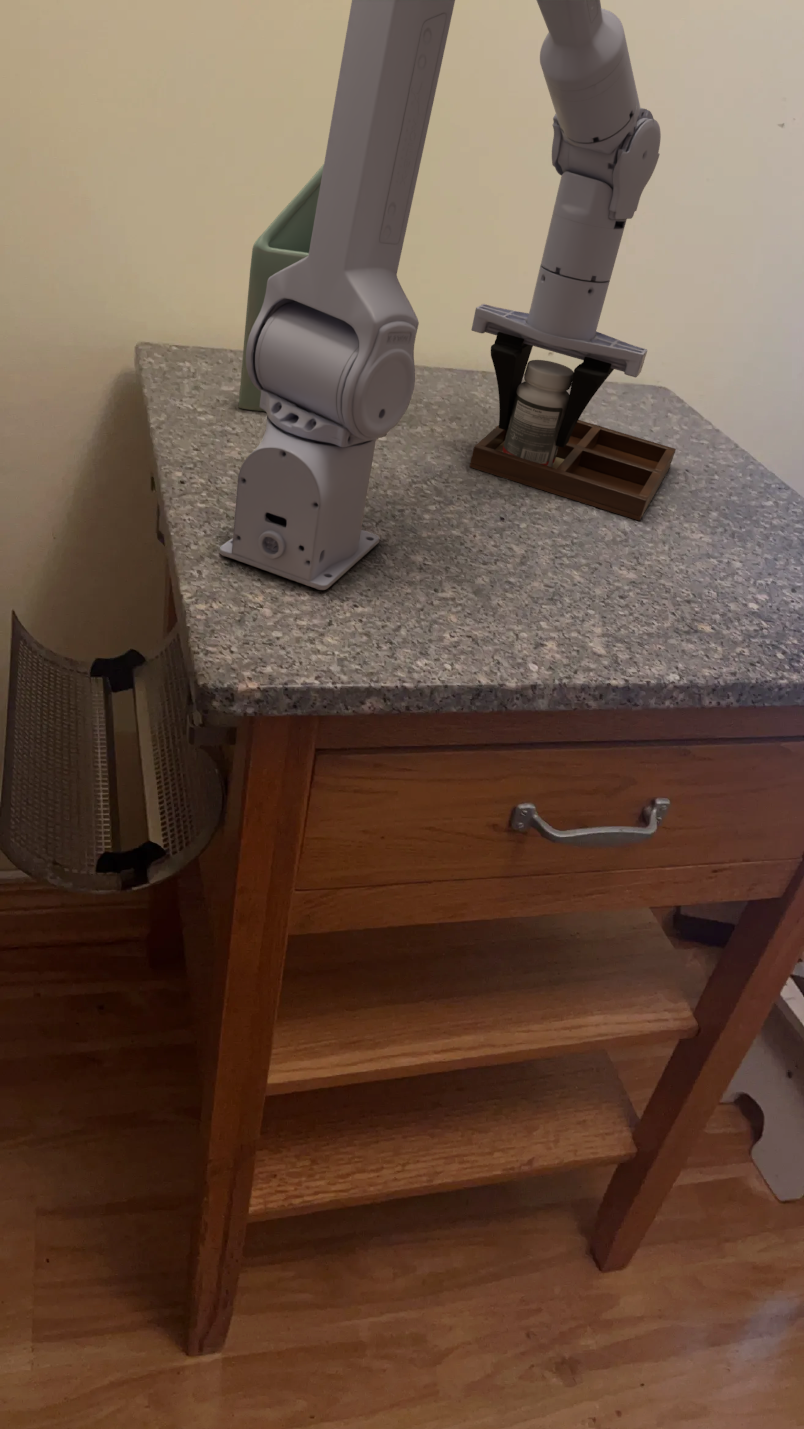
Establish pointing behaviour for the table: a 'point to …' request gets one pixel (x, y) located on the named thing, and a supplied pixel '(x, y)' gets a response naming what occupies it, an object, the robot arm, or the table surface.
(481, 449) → the tray
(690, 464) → the table surface
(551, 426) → the pill bottle
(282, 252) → the green tall open box
